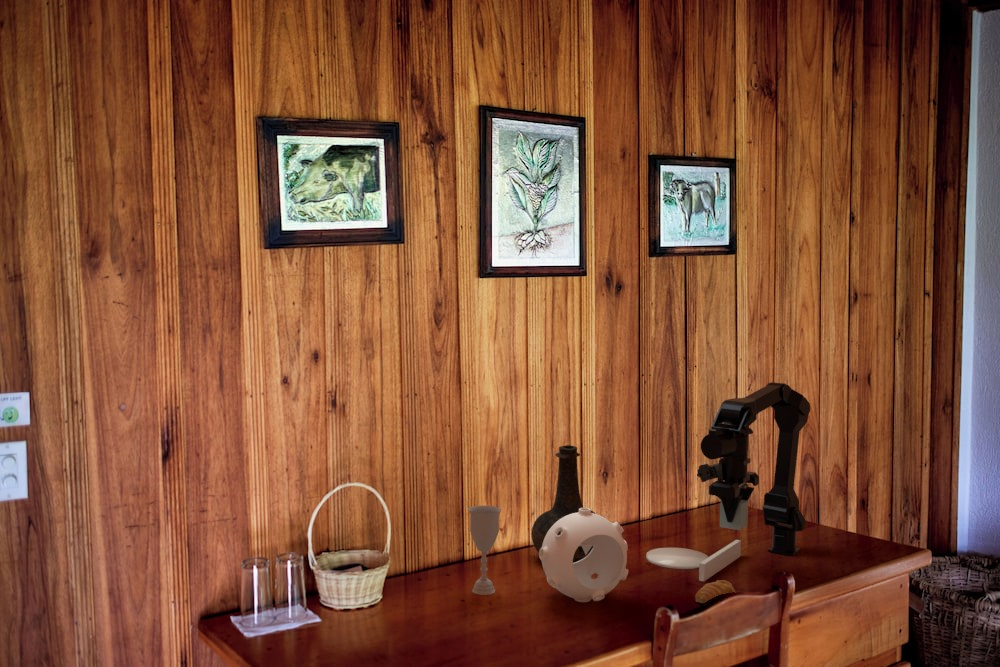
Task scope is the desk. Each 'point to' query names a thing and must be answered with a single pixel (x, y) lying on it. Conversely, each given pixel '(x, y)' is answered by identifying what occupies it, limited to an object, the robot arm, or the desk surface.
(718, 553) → the panel
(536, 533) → the glass bottle
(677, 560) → the plate
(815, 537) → the desk surface
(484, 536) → the chalice
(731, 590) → the pastry
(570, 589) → the decorative ball
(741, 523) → the block
